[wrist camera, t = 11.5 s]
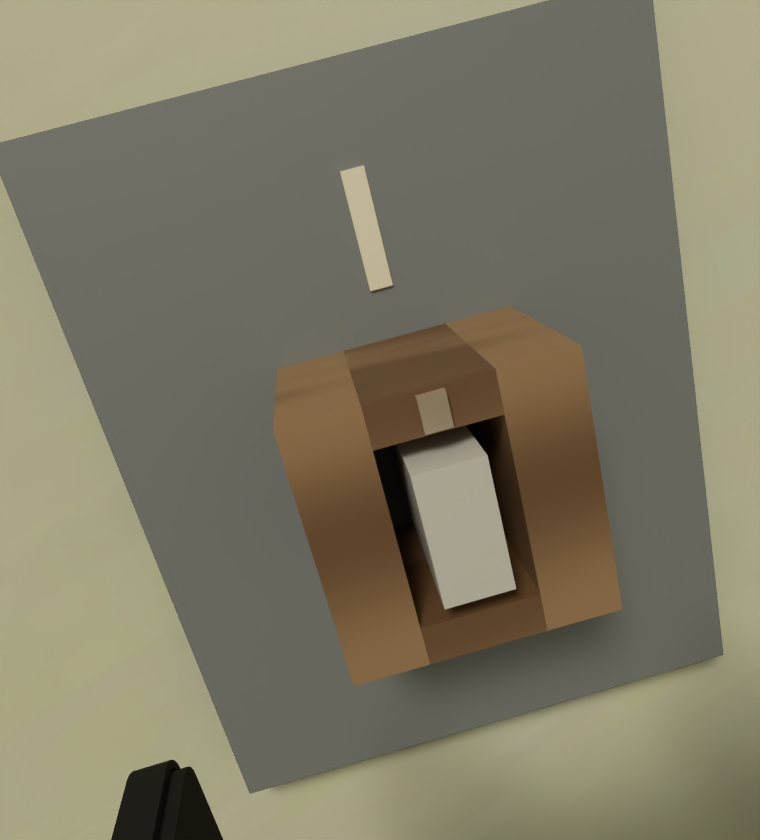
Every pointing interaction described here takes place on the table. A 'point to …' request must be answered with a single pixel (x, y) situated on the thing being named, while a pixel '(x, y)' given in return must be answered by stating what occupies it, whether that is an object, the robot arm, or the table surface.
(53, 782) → the table surface
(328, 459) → the open wooden cubby
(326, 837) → the table surface
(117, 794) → the table surface
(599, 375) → the plate
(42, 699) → the table surface
